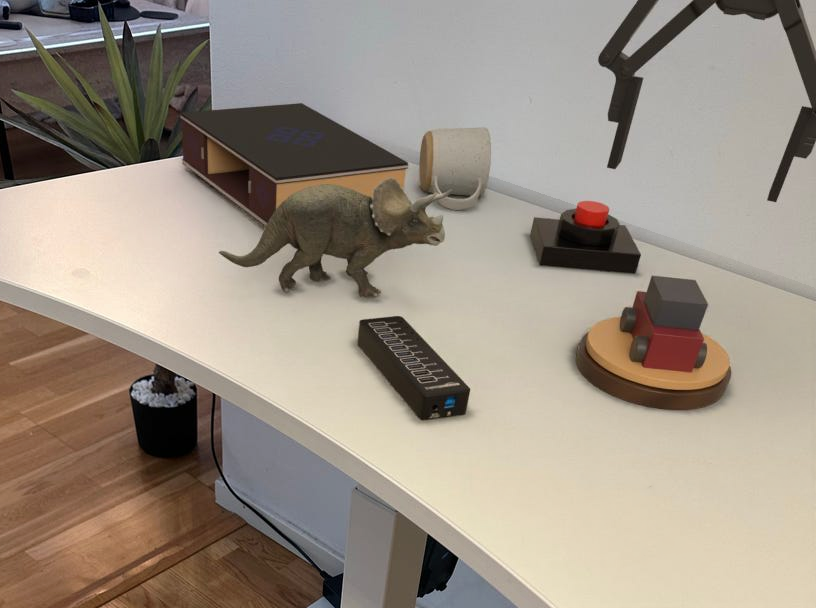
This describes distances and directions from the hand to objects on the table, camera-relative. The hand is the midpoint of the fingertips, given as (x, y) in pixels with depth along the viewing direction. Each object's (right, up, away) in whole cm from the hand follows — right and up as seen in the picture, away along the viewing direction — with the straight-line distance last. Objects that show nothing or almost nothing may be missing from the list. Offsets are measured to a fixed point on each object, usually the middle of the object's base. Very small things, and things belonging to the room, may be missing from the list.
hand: (691, 180), depth 78 cm
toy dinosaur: (-32, -3, +16) cm, 36 cm away
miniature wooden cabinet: (-37, +15, +34) cm, 53 cm away
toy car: (-1, -13, +6) cm, 15 cm away
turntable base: (-1, -14, +7) cm, 16 cm away
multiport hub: (-24, -16, +3) cm, 29 cm away
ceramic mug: (-16, +17, +39) cm, 45 cm away
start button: (-2, +8, +25) cm, 26 cm away
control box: (-2, +5, +27) cm, 28 cm away
